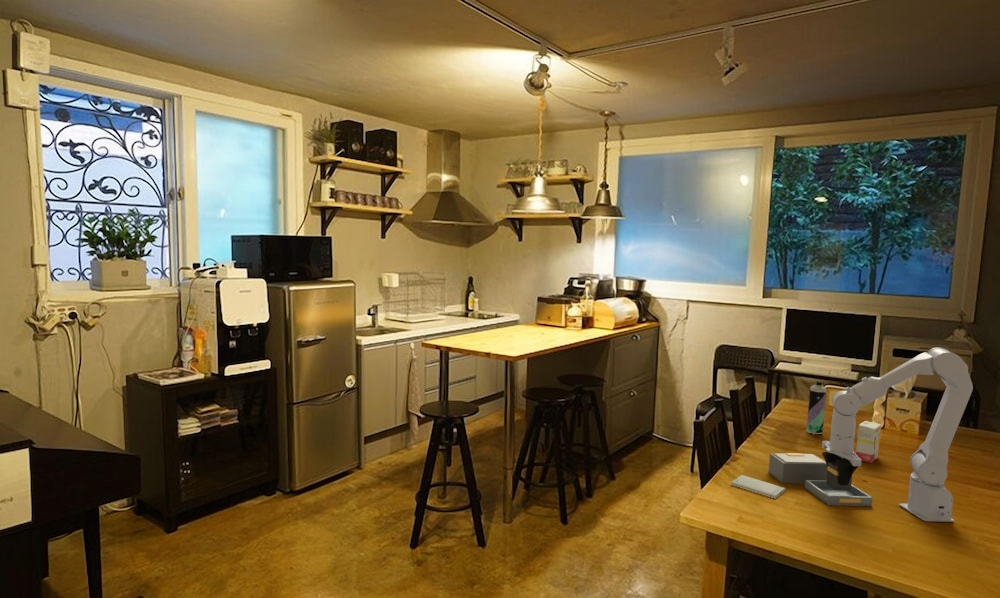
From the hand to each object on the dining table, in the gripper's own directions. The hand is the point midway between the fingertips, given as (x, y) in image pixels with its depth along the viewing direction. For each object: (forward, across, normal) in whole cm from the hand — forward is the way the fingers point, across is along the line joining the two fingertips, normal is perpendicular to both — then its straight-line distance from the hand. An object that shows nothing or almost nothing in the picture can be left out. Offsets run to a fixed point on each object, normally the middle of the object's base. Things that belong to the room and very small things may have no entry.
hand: (838, 481), depth 161 cm
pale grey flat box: (+4, -13, -4) cm, 14 cm away
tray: (+4, 0, 0) cm, 4 cm away
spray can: (+5, -58, +28) cm, 65 cm away
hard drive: (+5, -5, -20) cm, 21 cm away
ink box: (+5, -31, +30) cm, 43 cm away
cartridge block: (+2, 0, 0) cm, 2 cm away
